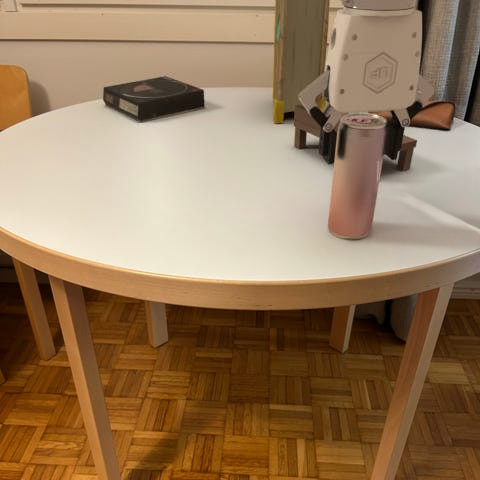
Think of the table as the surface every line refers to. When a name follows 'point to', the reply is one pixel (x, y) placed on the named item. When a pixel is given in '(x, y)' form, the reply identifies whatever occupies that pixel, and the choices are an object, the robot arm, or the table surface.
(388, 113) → the sunglasses case
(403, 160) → the wooden step stool
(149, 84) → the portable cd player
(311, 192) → the table surface
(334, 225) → the beverage can
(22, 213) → the table surface
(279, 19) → the decorative book
